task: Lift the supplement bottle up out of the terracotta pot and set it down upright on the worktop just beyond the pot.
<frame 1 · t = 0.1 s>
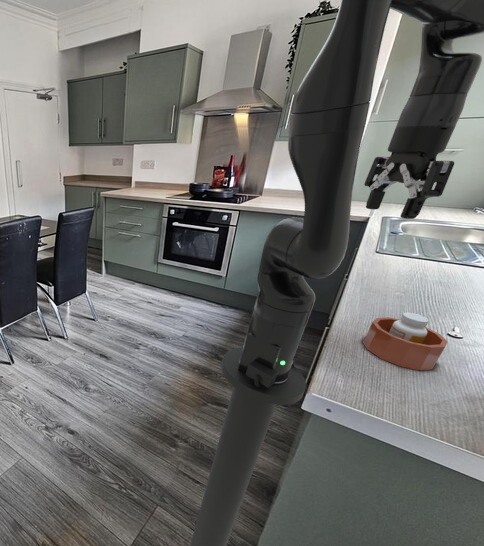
hand: (388, 213, 62), 32 cm above the worktop, tool pointing down, fingers open, 8 cm apart
pot: (397, 352, 71), on the worktop
supplement bottle: (396, 353, 72), resting in pot
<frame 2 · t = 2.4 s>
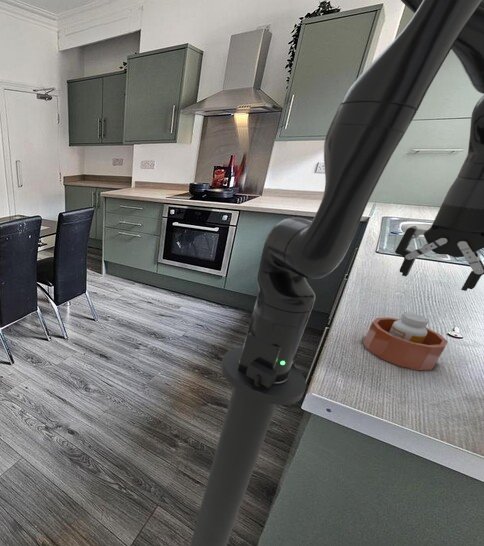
hand: (433, 282, 64), 18 cm above the worktop, tool pointing down, fingers open, 8 cm apart
nothing on the worktop moved.
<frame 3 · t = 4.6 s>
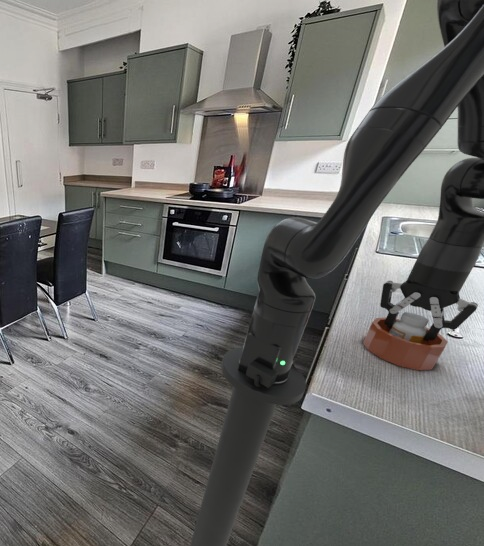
hand: (407, 333, 69), 5 cm above the worktop, tool pointing down, fingers closed on supplement bottle, 5 cm apart
supplement bottle: (396, 353, 72), resting in pot, touching gripper
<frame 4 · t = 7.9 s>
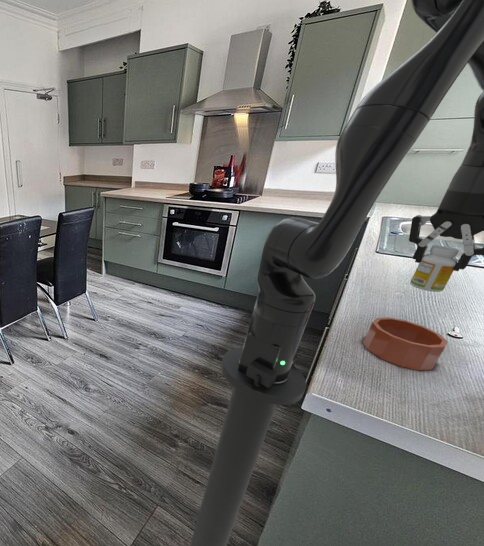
hand: (436, 265, 70), 19 cm above the worktop, tool pointing down, fingers closed on supplement bottle, 5 cm apart
supplement bottle: (425, 288, 72), point 13 cm above the worktop, touching gripper
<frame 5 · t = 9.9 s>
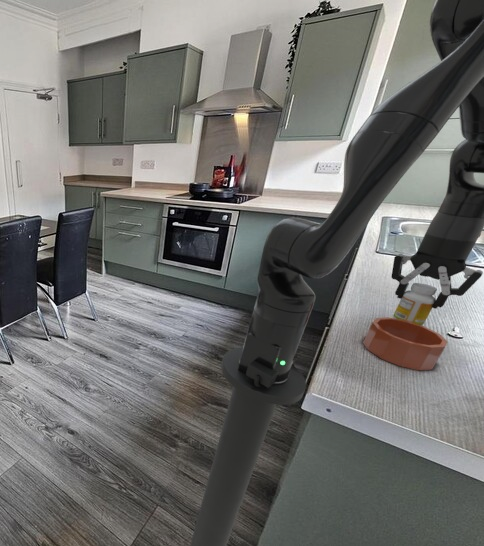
hand: (417, 302, 75), 9 cm above the worktop, tool pointing down, fingers closed on supplement bottle, 5 cm apart
supplement bottle: (406, 322, 77), point 4 cm above the worktop, touching gripper
when the fingers open (5 cm above the worktop, at t = 11.4 s): supplement bottle stays where it is, on the worktop.
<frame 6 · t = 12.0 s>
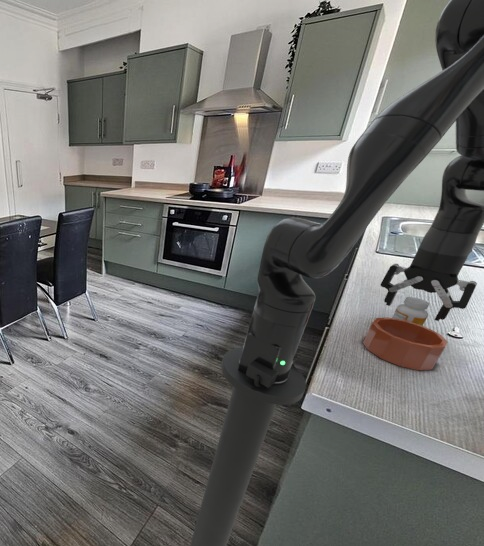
hand: (411, 311, 76), 7 cm above the worktop, tool pointing down, fingers open, 8 cm apart
supplement bottle: (400, 335, 78), on the worktop
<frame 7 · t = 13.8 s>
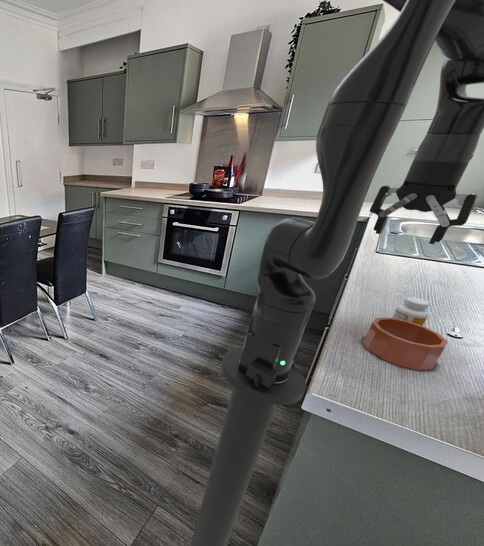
hand: (404, 238, 68), 25 cm above the worktop, tool pointing down, fingers open, 8 cm apart
nothing on the worktop moved.
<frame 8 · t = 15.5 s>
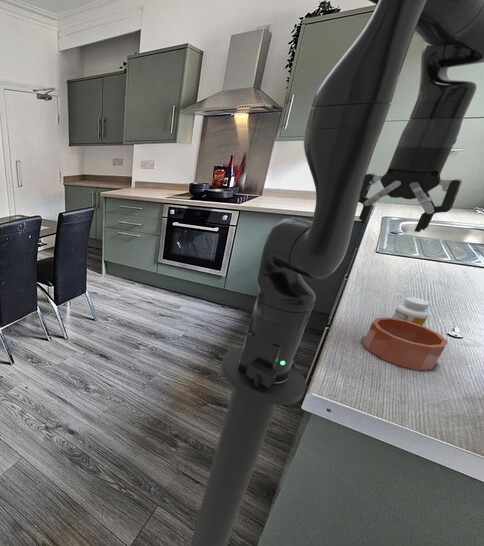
hand: (389, 226, 66), 28 cm above the worktop, tool pointing down, fingers open, 8 cm apart
nothing on the worktop moved.
at the end: supplement bottle inside the target area (0.1 cm from its centre), on the worktop; supplement bottle tilted 0°; the gripper is holding nothing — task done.
